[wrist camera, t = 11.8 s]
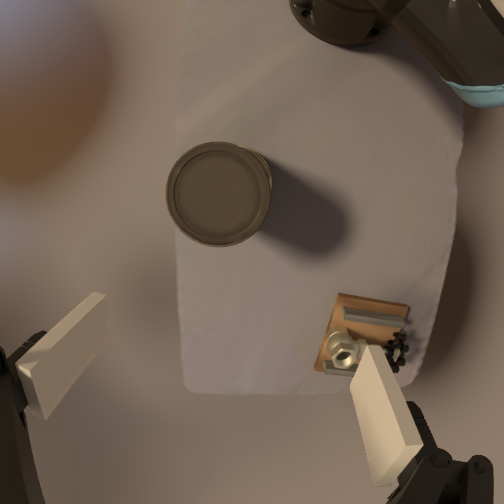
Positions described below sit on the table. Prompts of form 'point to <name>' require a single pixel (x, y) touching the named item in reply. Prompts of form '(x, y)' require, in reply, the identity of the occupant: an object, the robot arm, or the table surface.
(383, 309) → the board
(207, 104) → the table surface
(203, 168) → the coffee can
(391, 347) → the valve
